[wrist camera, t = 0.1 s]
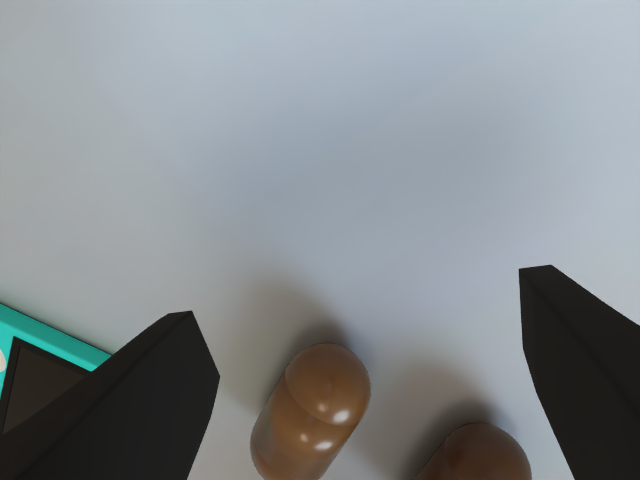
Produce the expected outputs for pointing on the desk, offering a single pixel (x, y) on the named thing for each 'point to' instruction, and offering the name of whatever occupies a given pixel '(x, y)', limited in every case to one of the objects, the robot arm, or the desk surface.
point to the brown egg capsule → (310, 413)
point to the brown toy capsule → (477, 456)
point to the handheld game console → (37, 365)
